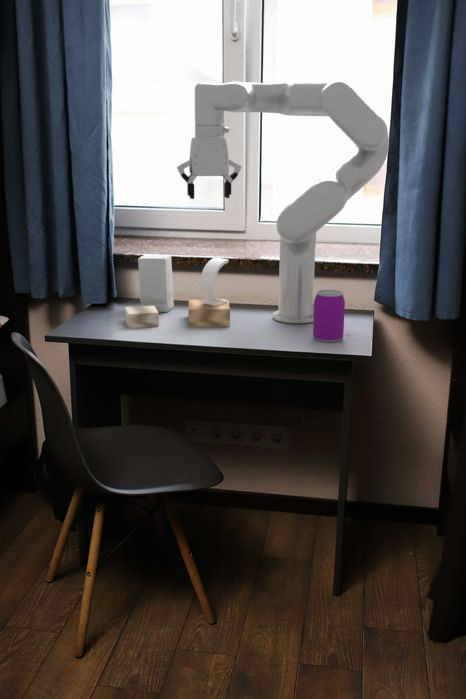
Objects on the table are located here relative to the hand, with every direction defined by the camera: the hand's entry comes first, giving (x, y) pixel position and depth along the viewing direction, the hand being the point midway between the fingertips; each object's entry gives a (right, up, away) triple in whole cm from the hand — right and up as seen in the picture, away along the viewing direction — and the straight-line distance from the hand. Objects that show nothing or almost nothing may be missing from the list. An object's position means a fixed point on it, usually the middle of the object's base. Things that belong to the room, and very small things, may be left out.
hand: (209, 198), depth 215 cm
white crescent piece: (+1, -28, +2) cm, 29 cm away
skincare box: (-15, -29, +15) cm, 36 cm away
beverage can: (+30, -38, -14) cm, 51 cm away
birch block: (-18, -34, 0) cm, 39 cm away
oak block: (0, -33, +3) cm, 33 cm away
